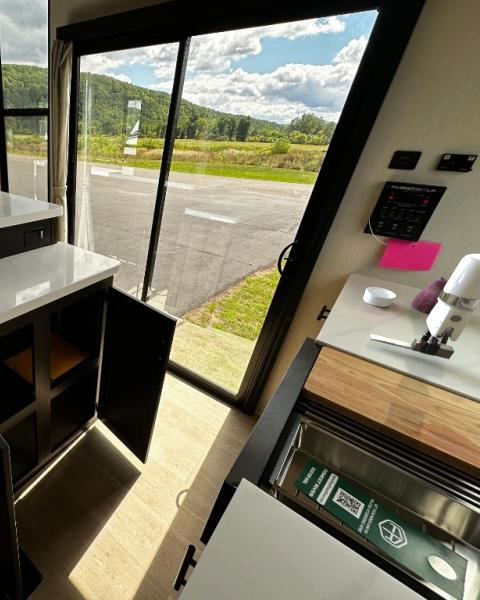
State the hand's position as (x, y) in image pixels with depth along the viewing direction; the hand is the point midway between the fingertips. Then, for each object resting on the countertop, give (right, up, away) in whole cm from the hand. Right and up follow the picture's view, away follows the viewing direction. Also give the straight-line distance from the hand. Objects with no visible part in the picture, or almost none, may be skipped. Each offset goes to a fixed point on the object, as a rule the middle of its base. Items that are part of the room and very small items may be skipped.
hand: (425, 350), depth 96 cm
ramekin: (+10, +14, +27) cm, 32 cm away
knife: (-3, +1, +2) cm, 4 cm away
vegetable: (+26, +12, +22) cm, 36 cm away
